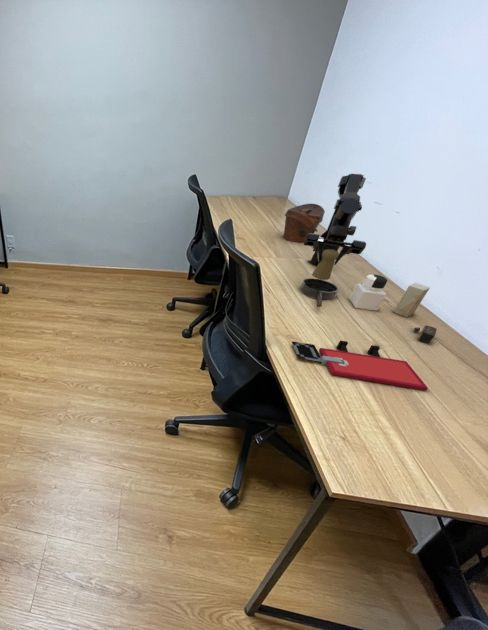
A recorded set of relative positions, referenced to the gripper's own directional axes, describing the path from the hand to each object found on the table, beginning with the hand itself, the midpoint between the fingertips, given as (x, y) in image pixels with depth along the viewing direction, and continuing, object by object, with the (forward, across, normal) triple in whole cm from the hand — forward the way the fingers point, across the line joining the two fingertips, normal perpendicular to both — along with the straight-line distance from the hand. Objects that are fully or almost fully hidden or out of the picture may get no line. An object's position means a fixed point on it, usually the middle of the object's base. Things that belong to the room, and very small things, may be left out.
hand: (326, 263), depth 130 cm
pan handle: (+16, +1, 0) cm, 16 cm away
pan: (+9, +1, +10) cm, 13 cm away
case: (-38, -12, +58) cm, 71 cm away
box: (+9, +28, +10) cm, 31 cm away
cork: (+4, 0, +6) cm, 7 cm away
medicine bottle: (+10, +16, +9) cm, 21 cm away
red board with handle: (+41, +12, -22) cm, 48 cm away
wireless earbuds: (+20, +31, -1) cm, 37 cm away
